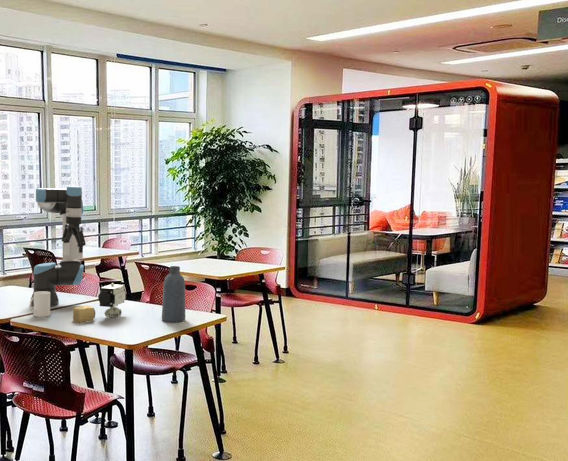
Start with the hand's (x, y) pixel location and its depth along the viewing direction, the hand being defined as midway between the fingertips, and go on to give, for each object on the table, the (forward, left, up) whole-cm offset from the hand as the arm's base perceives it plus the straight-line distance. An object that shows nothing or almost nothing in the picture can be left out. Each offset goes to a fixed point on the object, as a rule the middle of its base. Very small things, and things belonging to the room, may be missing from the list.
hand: (73, 257), depth 320 cm
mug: (-12, -12, -32) cm, 36 cm away
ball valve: (+12, +17, -32) cm, 38 cm away
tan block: (+12, -1, -31) cm, 34 cm away
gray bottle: (+38, +37, -32) cm, 62 cm away
